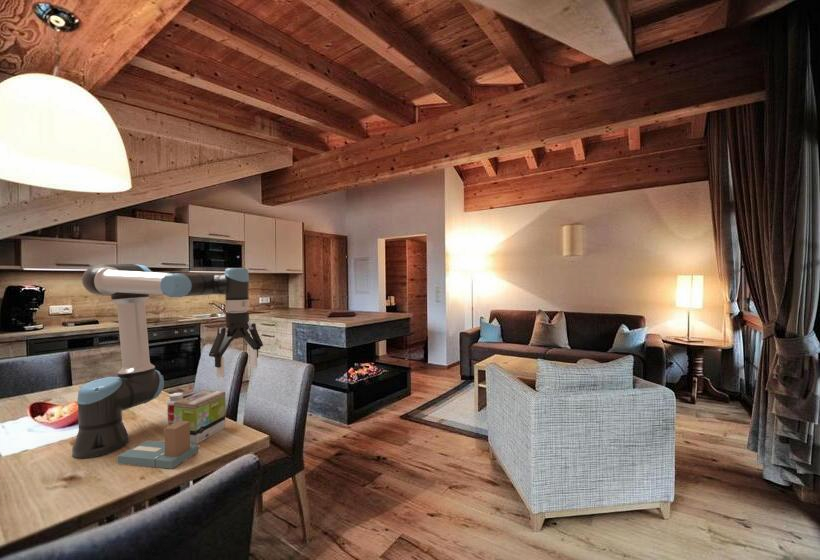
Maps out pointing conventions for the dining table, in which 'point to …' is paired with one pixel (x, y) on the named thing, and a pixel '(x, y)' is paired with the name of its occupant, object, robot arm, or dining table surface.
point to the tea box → (202, 414)
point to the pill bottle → (173, 398)
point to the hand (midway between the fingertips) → (237, 371)
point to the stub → (176, 445)
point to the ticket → (143, 454)
